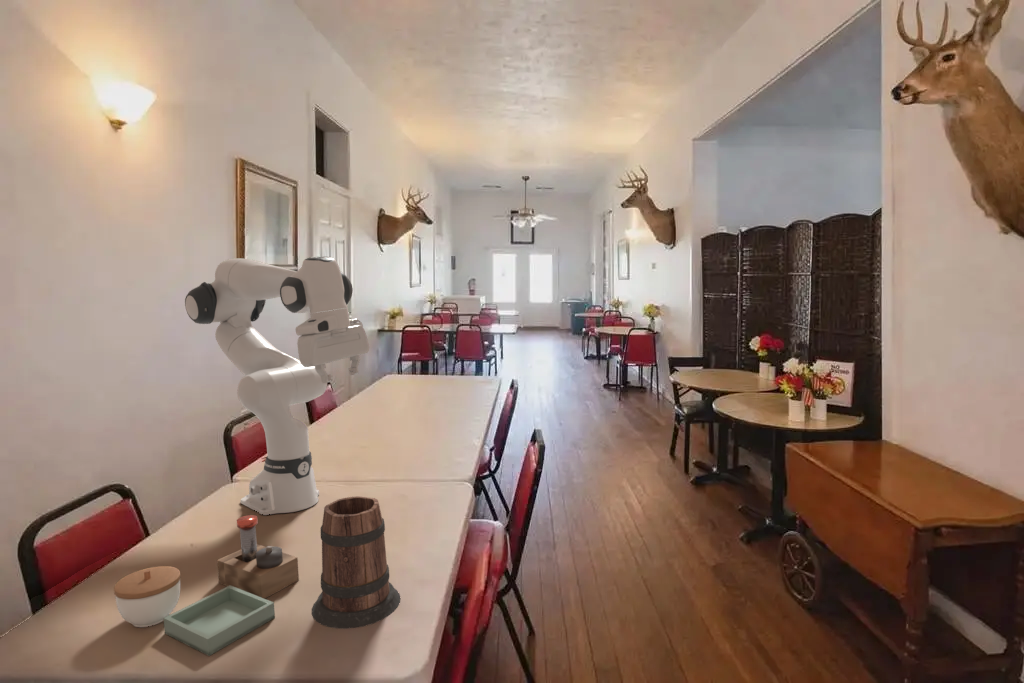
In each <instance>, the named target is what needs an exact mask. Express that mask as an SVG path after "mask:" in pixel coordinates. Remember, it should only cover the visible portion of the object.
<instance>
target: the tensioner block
mask: <svg viewBox="0 0 1024 683" xmlns="http://www.w3.org/2000/svg"><path fill="white" fill-rule="evenodd" d="M216 562H217V563H216V564H217V573H218V574H217V576H218V578H217V579H218V583H219V584H221V585H224V586H226V587H227V586H230V585H231V586H233V587H236V588H238V589H241V590H244V591H246V592H249V593H251V594H254V595H256V596H259V597H261V598H264V599H266V598H268V597H270V596H272V595H274V594H276V593H278V592H280V591H281V590H283V589H285V588H287V587H288V586H290V585H293V584H294V583H296V582H298V581H299V580H300V578H299V563H298V562H299V559H298V556H294V555H292V554H288V553H285V552H283V548H281V547H280V546H274V545H267V546H264V545H261V544H258V543H257V553H256V559H254V560H252V561H250V562H248V563H246V562H244V561H242V550H241V549H238V550H237V551H235V552H232V553H230V554H228V555H225V556H223V557H221V558H219V559H217V560H216Z"/></svg>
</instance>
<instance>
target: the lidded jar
mask: <svg viewBox="0 0 1024 683" xmlns="http://www.w3.org/2000/svg"><path fill="white" fill-rule="evenodd" d="M113 593H114V598H115V604H116V608H117V611H118V613H119V615H120V616H121V618H122V620H124V621H126V623H128V624H129V623H130V624H132V626H133V627H135V628H148V626H149V627H152V625H153V626H155V625H158V624H160V623H162V622H164V617H166V616H169V615H171V614H172V612H173V610H174V609H175V608H176V606H177V605H178V602H179V600H180V595H181V571H180V570H179V569H178V568H177V567H176V566H175V567H174V566H170V565H169V566H167V565H159V566H151V567H147V568H144V569H140V570H136V571H134V572H132V573H129V574H127V575H125V576H124V577H122V578H121V579H119V580H118V581H117V582H116V583H115V585H114V587H113Z"/></svg>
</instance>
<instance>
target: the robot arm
mask: <svg viewBox="0 0 1024 683" xmlns="http://www.w3.org/2000/svg"><path fill="white" fill-rule="evenodd" d="M353 290H354V288H353V284H352V282H351V280H350V278H348V276H347V275H346V274H345V273H343V272H342V271H341V268H340V266H339V263H338V261H337V260H336V259H335V258H333V257H331V256H311V257H306V258H305V259H304V260H303V261H302V264H301V267H300V268H299V269H298V270H294V269H289V268H285V267H282V266H277V265H273V264H269V263H266V262H263V261H262V262H261V261H258V260H255V259H250V258H243V257H241V258H240V257H238V258H230V259H229V258H228V259H225V260H223V261H222V262H220V263H219V264H218V265H217V267H216V269H215V272H214V281H213V282H210V283H207V282H205V281H203V282H202V283H201V284H199V285H198V286H197V287H194V288H192V289H191V290H189V292H188V293H187V294H186V296H185V299H184V306H185V310H186V314H187V315H188V317H189V319H190V320H192V322H194V323H195V324H199V325H201V324H202V325H205V324H206V325H210V324H211V323H219V324H218V325H217V327H216V329H215V340H216V342H217V344H218V346H219V347H220V348H219V349H221V351H222V352H223V353H224V355H225V356H226V357H227V358H228V359H229V360H230V361H231V362H232V364H233V365H234V366H235V367H236V368H237V369H238V370H239V371H240V372H241V373H242V374H243V375H244V376H243V377H241V379H240V381H239V382H238V385H237V391H236V394H237V398H238V401H239V403H240V404H241V406H242V407H244V409H245V410H247V411H249V412H251V413H252V414H253V415H255V416H256V417H257V419H258V420H259V421H260V423H261V425H262V428H263V430H264V434H265V443H266V444H265V445H266V452H267V453H266V454H267V455H266V456H264V457H262V458H260V459H261V463H264V465H263V469H262V470H261V471H259V473H258V474H256V476H254V477H253V478H252V479H251V480H250V482H249V485H248V494H246V495H245V496H243V497H242V498H240V504H242V505H243V506H245V507H247V508H249V509H250V510H253V511H254V510H255V512H256V511H257V513H258V512H259V513H258V514H260V515H262V514H263V516H267V515H269V514H270V515H274V514H288V513H294V512H299V511H303V510H306V509H309V508H311V507H313V506H314V505H316V504H317V503H318V502H319V495H320V490H319V489H318V488H317V483H316V477H315V471H314V468H313V467H312V465H313V460H312V459H313V456H312V452H311V451H310V440H309V439H310V437H309V427H308V426H307V424H306V423H305V422H304V421H303V420H301V419H299V418H297V417H294V415H293V414H292V411H291V406H294V405H298V404H303V403H308V402H311V401H313V400H316V398H319V397H321V396H322V395H324V394H325V392H326V390H327V388H328V383H330V382H332V376H331V374H328V372H327V371H326V368H327V366H326V364H329V363H333V362H336V361H341V360H345V359H349V361H351V364H350V368H348V373H349V375H350V376H355V375H358V374H359V371H360V370H359V366H360V361H361V356H360V355H365V354H368V353H369V351H370V344H369V340H368V337H367V334H366V331H365V328H364V326H363V323H362V322H361V320H359V319H358V318H352V319H350V315H349V308H348V304H349V302H350V301H351V299H352V296H353ZM276 298H280V301H281V304H282V305H283V306H284V308H285V309H286V310H287V311H289V312H291V313H292V314H304V313H309V314H310V318H307V320H305V321H304V322H302V323H300V324H299V325H297V326H296V327H295V333H296V335H297V336H299V337H298V339H297V343H296V344H297V353H298V359H297V358H295V357H293V356H291V355H289V354H287V353H285V352H283V351H281V350H279V349H278V348H277V347H275V346H274V345H273V344H272V343H271V342H270V341H268V340H267V338H265V337H264V335H262V334H261V333H260V332H259V331H258V330H257V329H255V327H254V326H253V324H252V322H256V321H257V320H258V319H259V318H260V314H261V313H262V312H263V310H264V307H265V305H266V301H267V300H270V299H276Z"/></svg>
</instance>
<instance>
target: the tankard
mask: <svg viewBox="0 0 1024 683" xmlns="http://www.w3.org/2000/svg"><path fill="white" fill-rule="evenodd" d="M323 509H324V510H323V517H322V525H321V526H320V539H321V562H322V563H321V567H322V568H321V570H322V572H321V575H320V588H321V593H320V594H319V595H318V598H317V599H316V601H315V602H314V603H313V605H312V608H311V615H312V616H311V617H312V618H313V620H315V622H316V623H318V624H320V625H322V626H324V627H327V628H332V629H340V630H341V629H344V630H345V629H356V628H361V627H366V625H367V626H369V625H373V624H375V623H377V622H381V621H382V620H385V619H386V618H388V617H389V616H391V614H392V613H394V612H395V611H396V610H397V609H398V608H399V606H400V604H401V598H402V597H401V594H400V592H399V591H398V590H397V589H396V588H395V587H394V585H393V584H392V583H391V582H389V580H390V568H389V565H388V562H387V551H386V550H387V548H386V540H385V538H386V537H385V531H386V526H385V519H384V518H383V516H382V512H381V508H380V503H379V500H378V499H377V498H375V497H366V496H350V497H349V496H348V497H343V498H339V499H336V500H334V501H333V502H330V503H328V504H326V505H325V506H324V507H323ZM398 592H399V593H398ZM400 597H401V598H400ZM399 603H400V604H399Z"/></svg>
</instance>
